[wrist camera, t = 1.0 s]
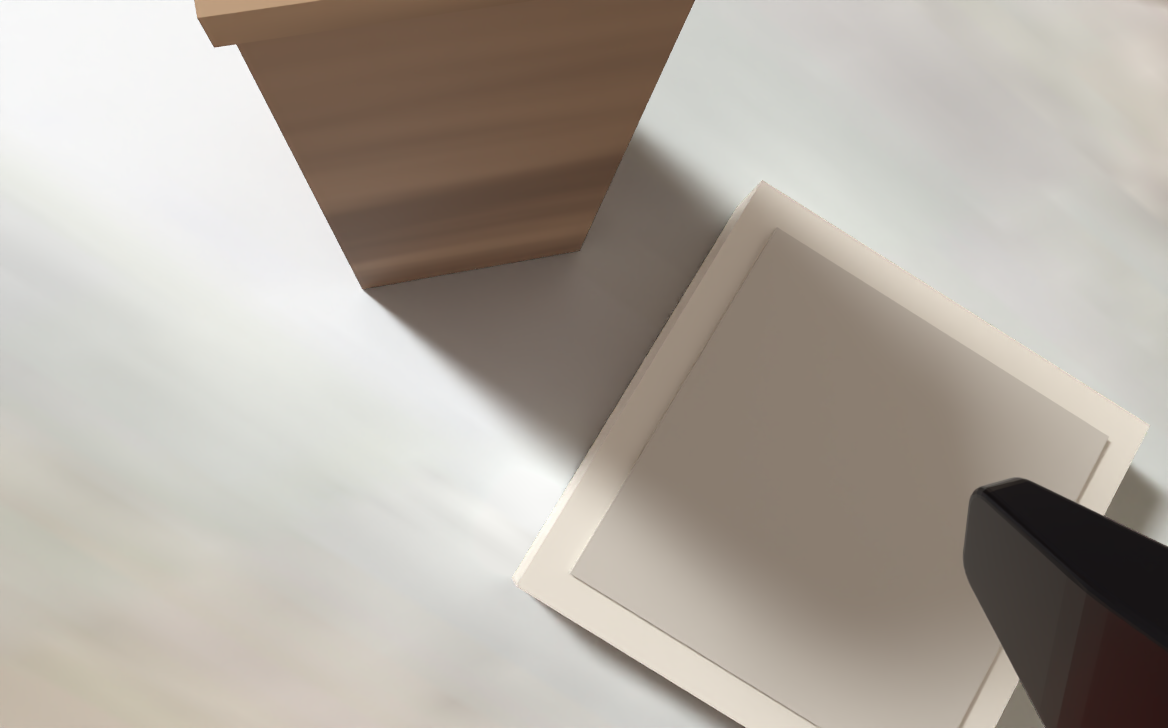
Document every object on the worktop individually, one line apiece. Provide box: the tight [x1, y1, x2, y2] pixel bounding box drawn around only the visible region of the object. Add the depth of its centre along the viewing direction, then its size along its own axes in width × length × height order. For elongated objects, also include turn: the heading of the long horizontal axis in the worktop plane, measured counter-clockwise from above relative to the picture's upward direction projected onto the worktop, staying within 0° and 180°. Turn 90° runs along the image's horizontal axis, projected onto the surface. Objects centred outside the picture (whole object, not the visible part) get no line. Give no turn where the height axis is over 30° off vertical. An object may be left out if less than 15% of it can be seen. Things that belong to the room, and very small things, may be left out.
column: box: [194, 0, 695, 289], centre depth 16 cm, size 5×5×13 cm
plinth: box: [512, 180, 1150, 728], centre depth 21 cm, size 9×9×2 cm
